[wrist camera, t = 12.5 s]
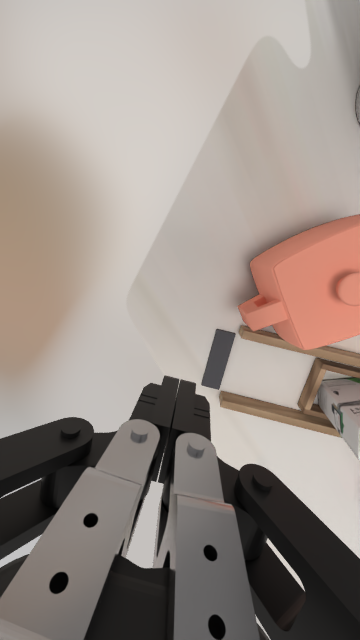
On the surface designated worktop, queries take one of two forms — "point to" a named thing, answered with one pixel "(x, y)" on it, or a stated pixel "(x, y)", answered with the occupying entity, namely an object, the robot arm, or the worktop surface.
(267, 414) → the channel
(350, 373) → the sled frame
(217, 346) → the tile
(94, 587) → the robot arm
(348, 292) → the teapot
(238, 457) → the worktop surface
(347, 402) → the ink box
